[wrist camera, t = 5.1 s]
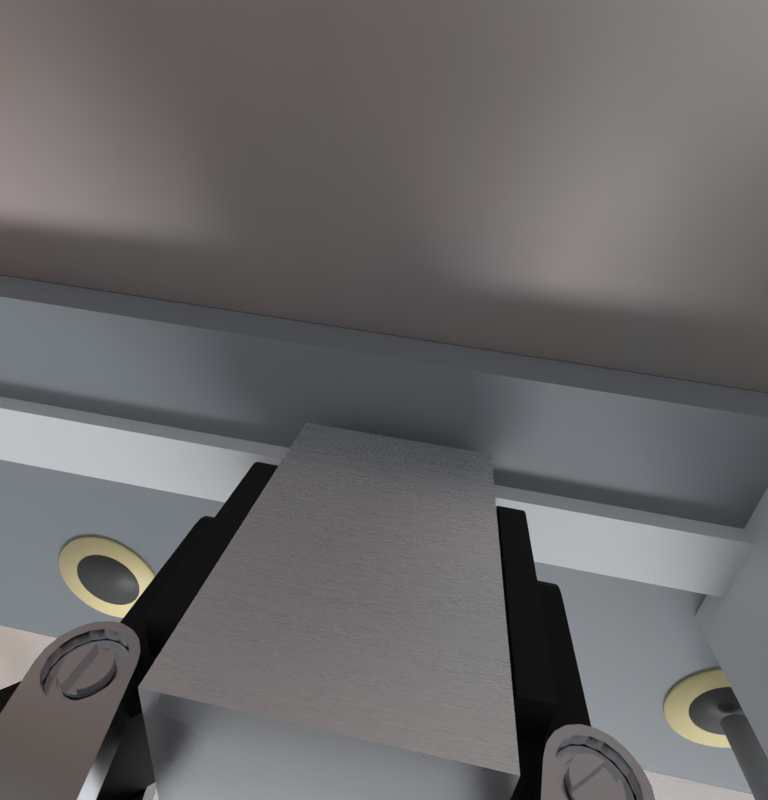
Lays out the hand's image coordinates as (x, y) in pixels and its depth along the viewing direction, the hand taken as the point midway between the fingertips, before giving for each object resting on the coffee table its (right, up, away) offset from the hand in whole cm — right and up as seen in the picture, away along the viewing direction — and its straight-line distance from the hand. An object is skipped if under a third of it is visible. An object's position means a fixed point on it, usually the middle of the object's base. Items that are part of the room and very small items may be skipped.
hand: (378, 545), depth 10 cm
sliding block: (0, -1, +2) cm, 2 cm away
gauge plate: (+1, -1, +4) cm, 4 cm away
